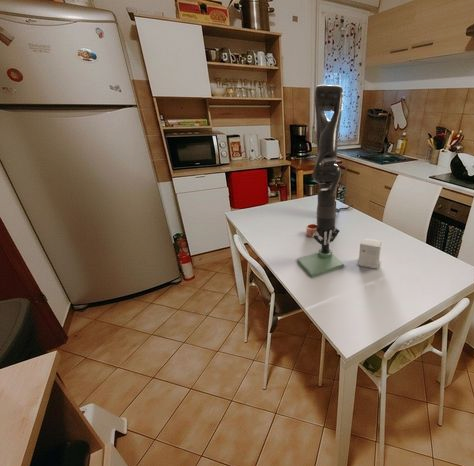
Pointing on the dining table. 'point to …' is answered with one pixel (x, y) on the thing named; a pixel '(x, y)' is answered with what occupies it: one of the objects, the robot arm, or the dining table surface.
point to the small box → (369, 253)
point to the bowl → (311, 229)
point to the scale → (320, 263)
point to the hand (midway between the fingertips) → (325, 250)
